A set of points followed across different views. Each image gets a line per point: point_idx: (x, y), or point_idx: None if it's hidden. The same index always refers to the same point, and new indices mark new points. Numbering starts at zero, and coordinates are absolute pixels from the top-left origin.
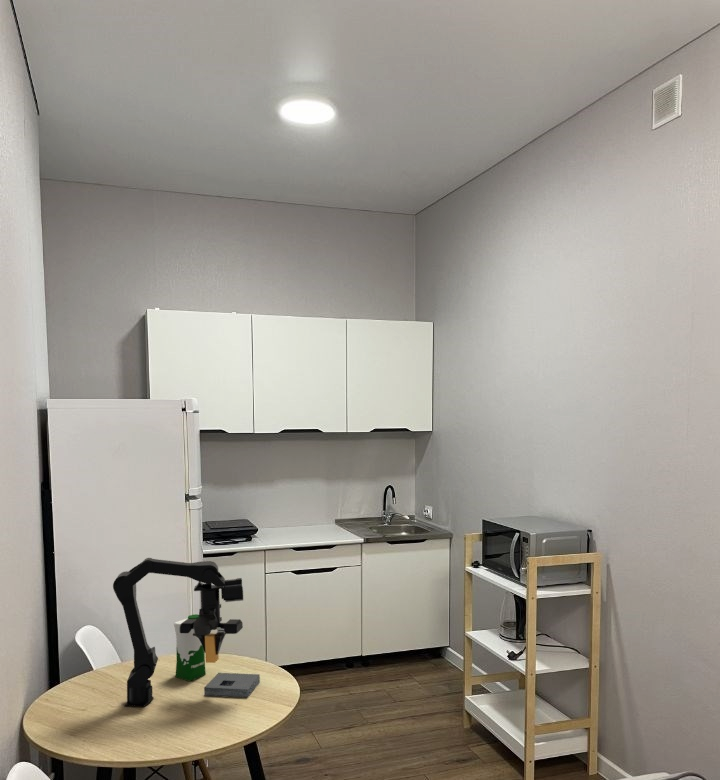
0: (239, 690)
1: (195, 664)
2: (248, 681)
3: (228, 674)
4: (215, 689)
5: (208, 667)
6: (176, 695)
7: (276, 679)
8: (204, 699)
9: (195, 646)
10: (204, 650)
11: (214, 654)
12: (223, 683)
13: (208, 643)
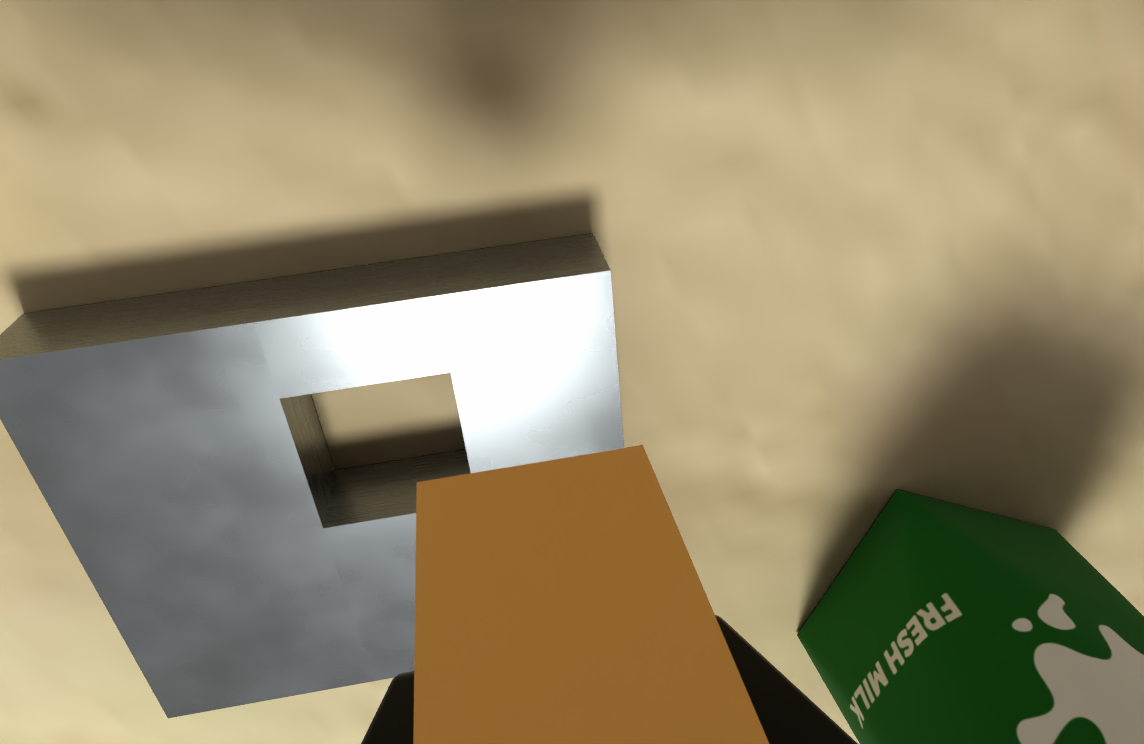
0: (102, 335)
1: (925, 645)
2: (154, 555)
3: None
4: (450, 284)
5: None
6: (925, 160)
7: (74, 732)
8: (538, 136)
9: None
10: (783, 683)
11: (419, 627)
12: None
13: None
